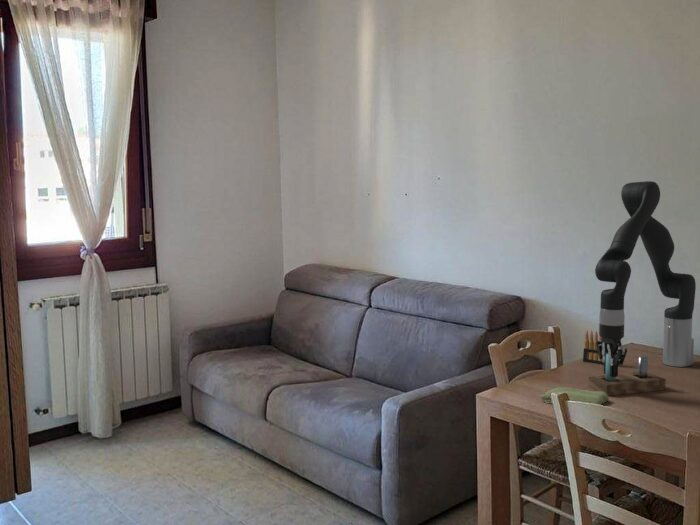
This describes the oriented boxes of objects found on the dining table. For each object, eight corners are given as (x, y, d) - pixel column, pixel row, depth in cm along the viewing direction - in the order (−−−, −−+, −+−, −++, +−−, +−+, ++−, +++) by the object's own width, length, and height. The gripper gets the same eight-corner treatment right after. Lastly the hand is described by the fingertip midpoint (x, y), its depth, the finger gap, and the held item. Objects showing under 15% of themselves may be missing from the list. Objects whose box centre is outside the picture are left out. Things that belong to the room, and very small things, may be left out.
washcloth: (553, 393, 232) (553, 383, 232) (609, 401, 222) (609, 391, 221) (538, 403, 221) (538, 393, 221) (596, 413, 211) (597, 402, 211)
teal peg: (611, 382, 234) (612, 352, 233) (617, 385, 231) (617, 354, 230) (603, 383, 233) (604, 353, 232) (608, 386, 230) (609, 355, 229)
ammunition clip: (613, 365, 263) (613, 332, 262) (611, 366, 262) (611, 333, 261) (584, 360, 270) (585, 329, 269) (582, 361, 269) (583, 330, 268)
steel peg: (643, 385, 237) (644, 355, 236) (649, 387, 234) (650, 357, 233) (635, 386, 236) (636, 356, 235) (641, 388, 234) (642, 358, 232)
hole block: (645, 381, 241) (645, 371, 241) (665, 389, 232) (665, 379, 231) (588, 387, 236) (588, 376, 236) (606, 395, 226) (606, 385, 226)
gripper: (636, 325, 224) (634, 380, 226) (608, 317, 237) (607, 369, 239) (614, 327, 222) (613, 382, 224) (588, 319, 236) (587, 370, 238)
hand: (610, 375), depth 232 cm, fingers closed on teal peg, 3 cm apart
